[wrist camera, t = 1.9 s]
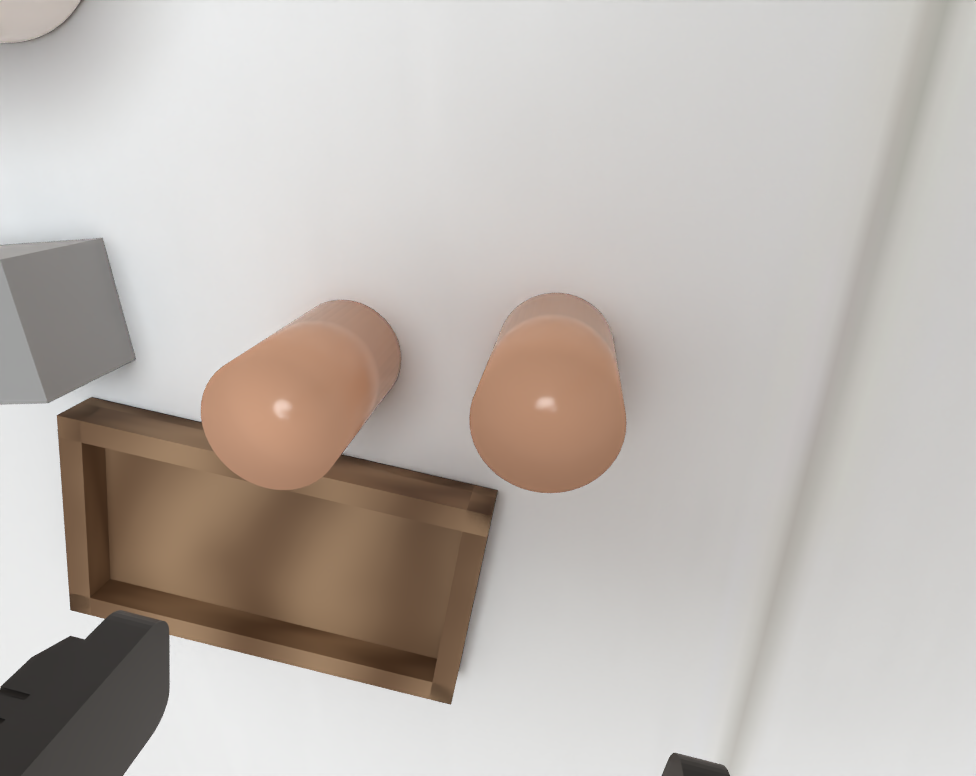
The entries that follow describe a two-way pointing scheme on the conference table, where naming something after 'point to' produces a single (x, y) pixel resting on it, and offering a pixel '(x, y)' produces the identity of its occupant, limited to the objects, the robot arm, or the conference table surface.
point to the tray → (272, 551)
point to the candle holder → (32, 18)
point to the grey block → (58, 319)
